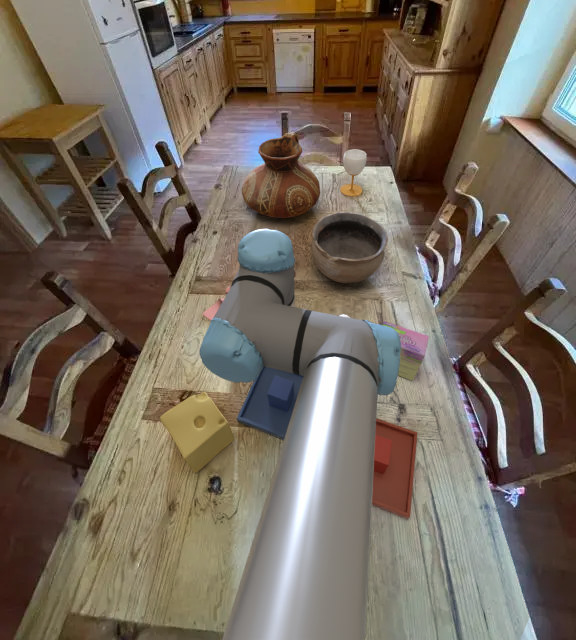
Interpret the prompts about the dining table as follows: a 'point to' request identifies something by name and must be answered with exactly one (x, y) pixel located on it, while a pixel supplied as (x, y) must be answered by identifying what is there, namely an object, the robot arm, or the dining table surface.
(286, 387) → the blue block
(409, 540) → the dining table surface
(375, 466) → the red block
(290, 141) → the jug
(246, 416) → the blue tray
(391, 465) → the red tray
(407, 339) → the box
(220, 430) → the cheese
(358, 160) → the cup
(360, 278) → the ceramic bowl
